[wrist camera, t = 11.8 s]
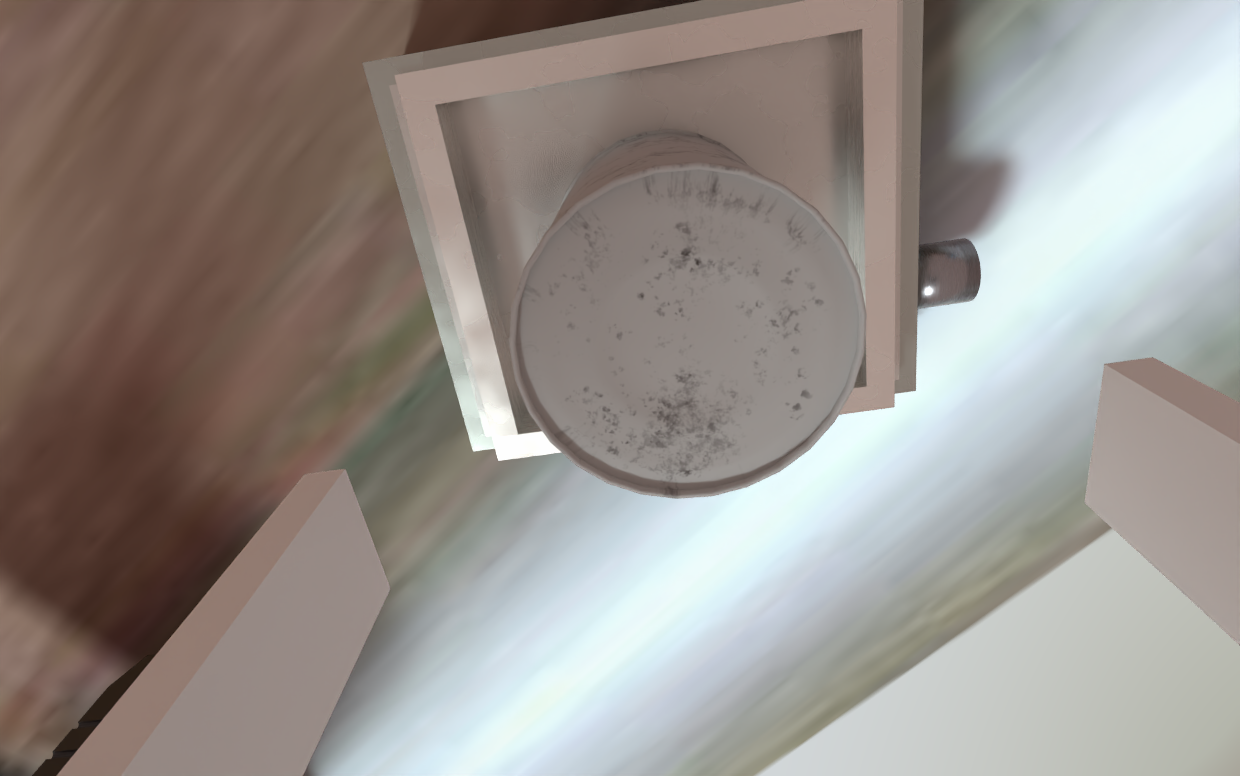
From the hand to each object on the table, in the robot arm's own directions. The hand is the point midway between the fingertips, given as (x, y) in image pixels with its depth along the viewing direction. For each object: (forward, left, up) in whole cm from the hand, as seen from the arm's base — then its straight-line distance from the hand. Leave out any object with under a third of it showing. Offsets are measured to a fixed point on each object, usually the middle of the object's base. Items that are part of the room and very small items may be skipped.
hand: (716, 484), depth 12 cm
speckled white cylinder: (0, 0, -19) cm, 19 cm away
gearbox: (+2, 0, -25) cm, 25 cm away
